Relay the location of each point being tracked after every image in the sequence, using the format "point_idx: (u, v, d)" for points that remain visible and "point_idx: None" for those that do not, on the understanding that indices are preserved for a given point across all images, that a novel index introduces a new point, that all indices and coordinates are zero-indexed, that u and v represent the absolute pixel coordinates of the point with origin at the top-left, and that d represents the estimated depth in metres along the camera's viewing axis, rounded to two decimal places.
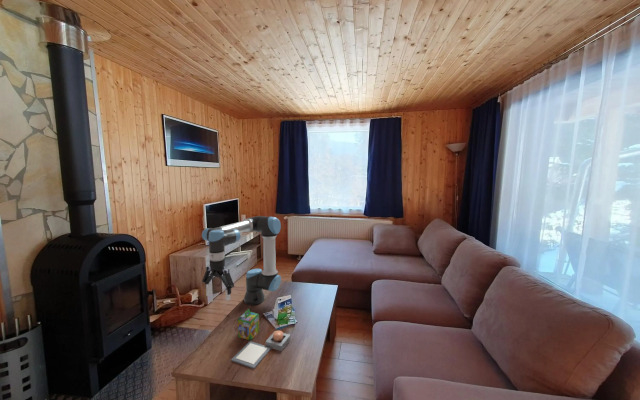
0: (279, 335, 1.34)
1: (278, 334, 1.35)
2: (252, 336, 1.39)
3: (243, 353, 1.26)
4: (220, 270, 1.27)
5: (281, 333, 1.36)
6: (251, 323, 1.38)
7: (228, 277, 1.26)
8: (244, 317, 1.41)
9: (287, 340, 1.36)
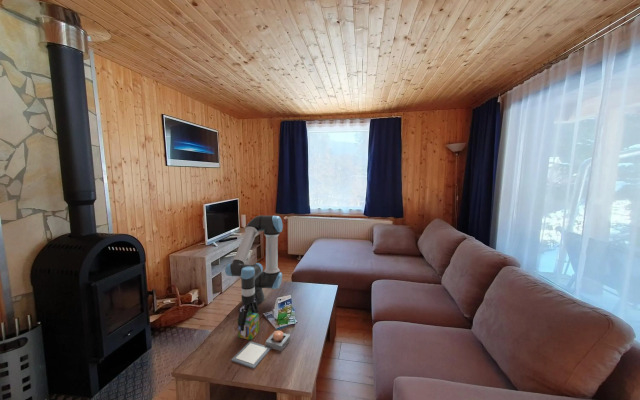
0: (279, 335, 1.34)
1: (278, 334, 1.35)
2: (252, 336, 1.39)
3: (243, 353, 1.26)
4: None
5: (281, 333, 1.36)
6: (251, 323, 1.38)
7: (239, 315, 1.36)
8: None
9: (287, 340, 1.36)
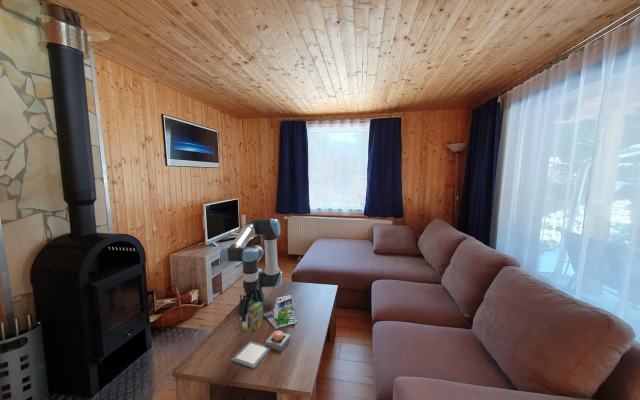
0: (279, 335, 1.34)
1: (278, 334, 1.35)
2: (255, 327, 1.21)
3: (243, 353, 1.26)
4: None
5: (281, 333, 1.36)
6: (254, 313, 1.20)
7: (241, 303, 1.18)
8: None
9: (287, 340, 1.36)
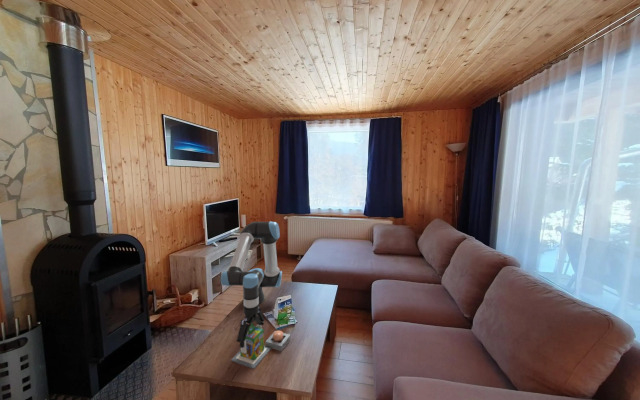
0: (279, 335, 1.34)
1: (278, 334, 1.35)
2: (256, 355, 1.23)
3: None
4: None
5: (281, 333, 1.36)
6: (255, 341, 1.22)
7: (240, 329, 1.18)
8: (247, 333, 1.25)
9: (287, 340, 1.36)
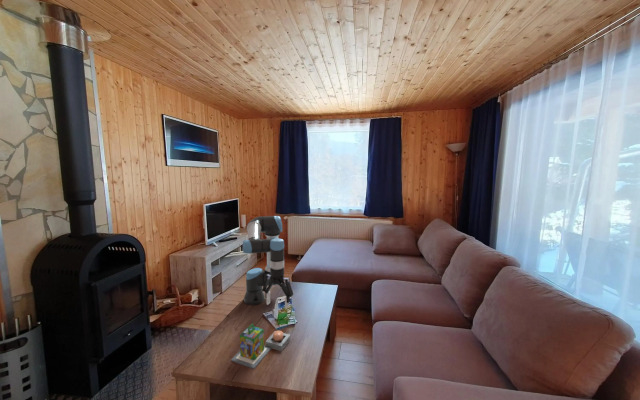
0: (279, 335, 1.34)
1: (278, 334, 1.35)
2: (256, 355, 1.23)
3: None
4: (281, 278, 1.30)
5: (281, 333, 1.36)
6: (255, 341, 1.22)
7: (289, 286, 1.30)
8: (247, 333, 1.25)
9: (287, 340, 1.36)
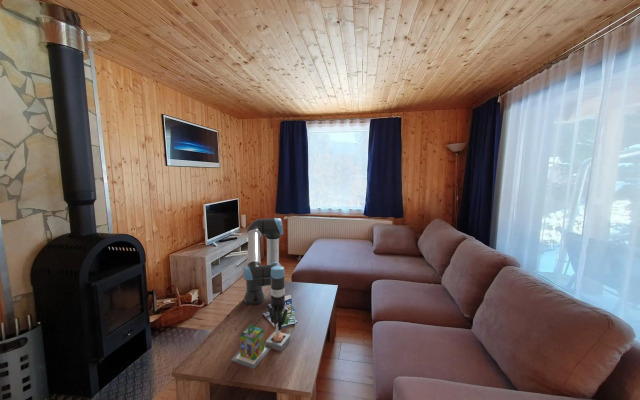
0: (279, 337, 1.34)
1: None
2: (256, 355, 1.23)
3: None
4: (282, 306, 1.32)
5: (281, 335, 1.36)
6: (255, 341, 1.22)
7: (285, 315, 1.32)
8: (247, 333, 1.25)
9: (287, 340, 1.36)
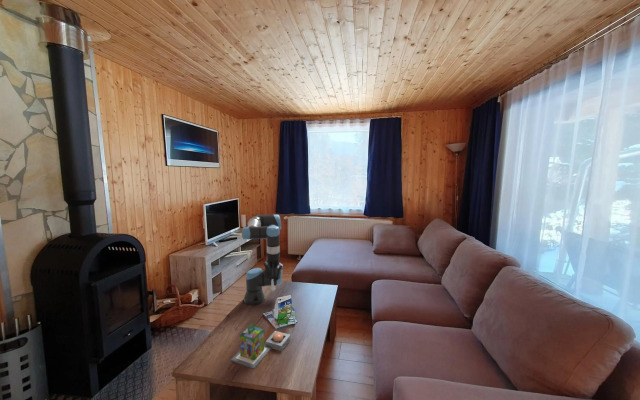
0: (279, 337, 1.34)
1: (278, 335, 1.36)
2: (256, 355, 1.23)
3: None
4: (277, 262, 1.42)
5: (281, 335, 1.36)
6: (255, 341, 1.22)
7: (280, 271, 1.43)
8: (247, 333, 1.25)
9: (287, 340, 1.36)
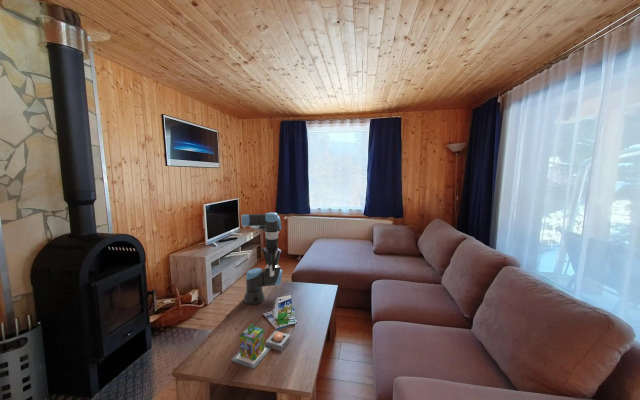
0: (279, 337, 1.34)
1: (278, 335, 1.36)
2: (256, 355, 1.23)
3: None
4: (275, 248, 1.46)
5: (281, 335, 1.36)
6: (255, 341, 1.22)
7: (278, 256, 1.46)
8: (247, 333, 1.25)
9: (287, 340, 1.36)
